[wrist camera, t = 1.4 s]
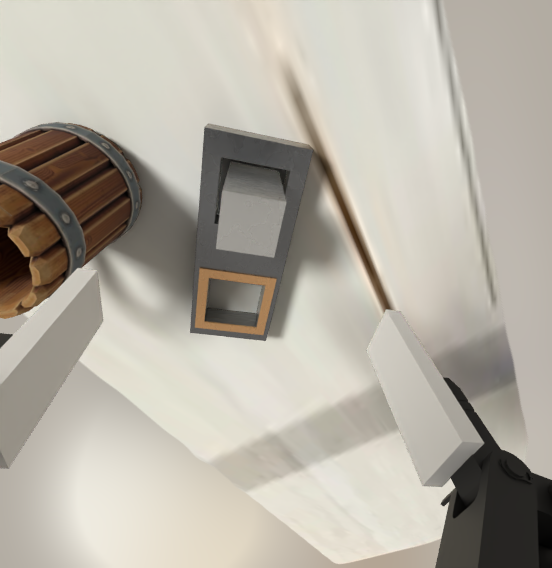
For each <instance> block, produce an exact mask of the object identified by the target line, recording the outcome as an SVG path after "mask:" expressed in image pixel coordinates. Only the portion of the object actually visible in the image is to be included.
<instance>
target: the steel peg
mask: <svg viewBox="0 0 552 568" xmlns="http://www.w3.org/2000/svg"><path fill="white" fill-rule="evenodd" d="M285 207H286V198H285V194H284V190H283V186H282V183H281V179H280V175H279V171H277V170H272V169H267V168H262V167H257V166H251V165H246V164H241V163H236V162H230V166H229V169H228V173H227V176H226V179H225V183H224V186H223V189H222V197H221V206H220V215H219V225H218V234H217V243H216V249H220V250H226V251H233V252H240V253H246V254H253V255H259V256H266V257H273V258H274V256H275V251H276V247H277V242H278V238H279V233H280V229H281V224H282V220H283V215H284V211H285Z"/></svg>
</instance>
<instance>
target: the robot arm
mask: <svg viewBox="0 0 552 568" xmlns="http://www.w3.org/2000/svg"><path fill="white" fill-rule="evenodd" d="M102 322H103V314H102V305H101V297H100V288H99V280H98V272H97V270H90V269H82V268H77V269H76V270H75V271H74V272H73V273H72V274H71V275H70V276H69V278H68V279H67V280H66V281H65V282H64V283H63V284H62V285H61V286H60V287H59V288H58V289H57V290H56V291H55V292H54V293H53V294H52V295H51V296H50V297H49V298H48V299H47V300H46V301H45V302H44V304H43V305H42V306H41V307H40V308H39V309H38V310H37V311H36V312H35V313H34V314H33V315H32V316H31V317H30V318H29V319H28V320H27V321H26V322H25V323H24V324H23V325H22V327H20V328H19V329H18V331H17V332H16V333H15V334H14V335H12V334H2V333H0V468H10V466H11V464H12V463H13V461H14V460H15V458H16V457H17V455H18V453H19V452H20V450H21V449H22V447H23V446H24V444H25V443H26V441H27V439H28V438H29V436H30V435H31V433H32V432H33V430H34V428H35V427H36V425H37V424H38V422H39V421H40V419H41V418H42V416H43V414H44V413H45V411H46V410H47V408H48V407H49V405H50V403H51V402H52V400H53V399H54V397H55V396H56V394H57V393H58V391H59V389H60V388H61V386H62V385H63V383H64V382H65V380H66V378H67V377H68V375H69V373H70V372H71V371H72V369H73V367H74V366H75V364H76V363H77V361H78V360H79V358H80V357H81V355H82V354H83V352H84V350H85V349H86V347H87V346H88V344H89V343H90V341H91V339H92V338H93V336H94V335H95V333H96V332H97V330H98V329H99V327H100V325H101V324H102ZM366 351H367V353H368V356H369V358H370V360H371V363H372V365H373V368H374V370H375V372H376V375H377V377H378V380H379V382H380V385H381V387H382V389H383V392H384V394H385V397H386V399H387V401H388V404H389V406H390V409H391V411H392V414H393V416H394V418H395V421H396V423H397V426H398V428H399V430H400V433H401V435H402V438H403V440H404V443H405V445H406V447H407V450H408V452H409V455H410V457H411V459H412V462H413V464H414V467H415V469H416V471H417V474H418V476H419V479H420V481H421V484H422V486H433V487H442V486H443V485H444V484H445V483H446V482H447V481H448V480H449V479H450V478H451V479H452V481H453V483H454V485H455V487H456V488H455V489H454V490H453V491H452V492H451V493H450V494H448V495H447V496H446V497H445V498H444V499H443V501H442V503H441V505H442V506H445V505H446V504H447V503H448V502H449V506H448V511H447V516H446V520H445V525H444V530H443V534H442V539H441V544H440V548H439V553H438V558H437V562H436V567H435V568H552V480H550V479H547V478H544V477H542V476H539V475H537V474H534V473H531V471H530V469H529V468H528V467H527V466H526V465H525V464H524V463H523V462H522V461H521V460H520V459H519V458H517V457H516V456H515V455H513V454H511V453H509V452H507V451H505V450H501V449H500V448H499V446H498V445H497V443H496V442H495V440H494V439H493V437H492V436H491V434H490V433H489V431H488V430H487V428H486V427H485V425H484V424H483V422H482V421H481V419H480V418H479V416H478V415H477V413H476V412H474V409H473V407H472V406H471V404H470V403H468V400H467V398H466V397H465V395H464V394H463V392H462V391H461V389H460V388H459V387H458V386H457V385H456V384H455V383H453V382H452V381H451V380H450V379H449V378H443V377H442V376H441V374H440V373H439V371H438V369H437V368H436V366H435V365H434V363H433V361H432V360H431V358H430V357H429V355H428V354H427V352H426V350H425V349H424V347H423V346H422V344H421V343H420V341H419V339H418V338H417V336H416V335H415V333H414V332H413V330H412V328H411V327H410V325H409V324H408V322H407V321H406V319H405V317H404V316H403V314H402V313H401V311H394V310H386V311H385V313H384V315H383V317H382V319H381V321H380V323H379V325H378V327H377V329H376V331H375V334H374V336H373V338H372V340H371V342H370V344H369V346H368V348H367V350H366Z"/></svg>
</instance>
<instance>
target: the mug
mask: <svg viewBox="0 0 552 568" xmlns="http://www.w3.org/2000/svg"><path fill="white" fill-rule="evenodd" d="M138 182H139V178H138V176H137V173H136V171H135V169H134V167H133V165H132V164H131V162H130V160H128V159H126V158H125V157H124V155H123V152H122V151H121V150H120V149H119V148H118V147H117V146H116V145H115V144H114V143H113V142H112V141H110V140H109V139H108V138H106V137H105V136H103V135H101V136H99V135H97V134H96V133H95V132H94V131H93V130H92V129H90V128H87V127H84V126H81V125H77V124H71V123H67V124H66V123H59V122H55V123H48V124H41V125H38V126H35V127H33V128H30V129H28V130H26V131H24V132H22V133H20V134H18V135H16V136H14V138H12V139H10V140H7V141H5V142H2V143H0V318H4V319H6V318H10V317H14V316H17V315H20V314H23V313H25V312H27V311H30V310H31V309H32V308H33V307H34V306H38V305H39V304H40V303H41V302H42V301H44V300H45V299H47V298H49V297H50V296H51V295H52V294H53V293H54V292H55V291H56V290H57V289H58V288H59V287H60V286H61V285H62V284H63V283H64V282H65V281H66V280H67V279H68V278H69V276H70V275H71V274H72V273H73V272H74V271H75V270H76V269H77V268H82V267H83V266H84V265H85V264H87V263H88V262H89V261H90V260H91V259H92V258H94V257H95V256H96V255H97V254H98V253H99V252H101V251H102V250H103V249H104V248H105V247H106V246H108V245H109V244H110V243H113V242H115V241H116V240H117V239H118V238H120V237H121V236H122V235H123V234H124V233H125V232H126V231H128V230H129V229H130V228H131V227H132V226H133V224H134V222H135V220H136V219H137V217H138V214H139V209H140V208H141V203H142V190H141V188H140V187H139V185H138Z"/></svg>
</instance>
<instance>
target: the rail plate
mask: <svg viewBox="0 0 552 568" xmlns="http://www.w3.org/2000/svg"><path fill="white" fill-rule="evenodd" d="M312 153H313V149H312V148H311V147H310V146H309V145H307V144H303V143H298V142H293V141H288V140H284V139H279V138H274V137H270V136H265V135H260V134H255V133H251V132H246V131H241V130H237V129H232V128H227V127H222V126H218V125H213V124H207V125H206V126H205V129H204V143H203V157H202V171H201V186H200V200H199V214H198V228H197V243H196V257H195V271H194V285H193V300H192V314H191V328H190V333H198V334H208V335H217V336H226V337H235V338H244V339H254V340H263V341H266V338H267V334H268V330H269V326H270V322H271V318H272V314H273V310H274V306H275V302H276V298H277V294H278V290H279V286H280V282H281V278H282V274H283V270H284V266H285V262H286V258H287V254H288V250H289V245H290V241H291V237H292V233H293V229H294V225H295V221H296V217H297V213H298V209H299V205H300V201H301V197H302V193H303V189H304V185H305V181H306V177H307V173H308V169H309V165H310V161H311V157H312ZM223 158H228V159H233V160H238V161H243V162H248V163H253V164H258V165H263V166H269V167H274V168H279V169H284V170H287V171H286V176H285V181H284V185H283V190H284V194H285V198H286V207H285V211H284V215H283V220H282V224H281V229H280V233H279V238H278V242H277V247H276V251H275V256H274V258H273V257H266V256H259V255H253V254H246V253H240V252H233V251H226V250H220V249H216V243H217V234H218V225H219V215H220V214H217V209H218V199H219V190H220V180H221V170H222V161H223ZM210 278H213V279H220V280H228V281H235V282H242V283H250V284H257V285H262V289H261V294H260V299H259V303H258V308H257V313H256V314H255V313H247V312H239V311H230V310H222V309H214V308H207V306H208V296H209V286H210Z"/></svg>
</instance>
